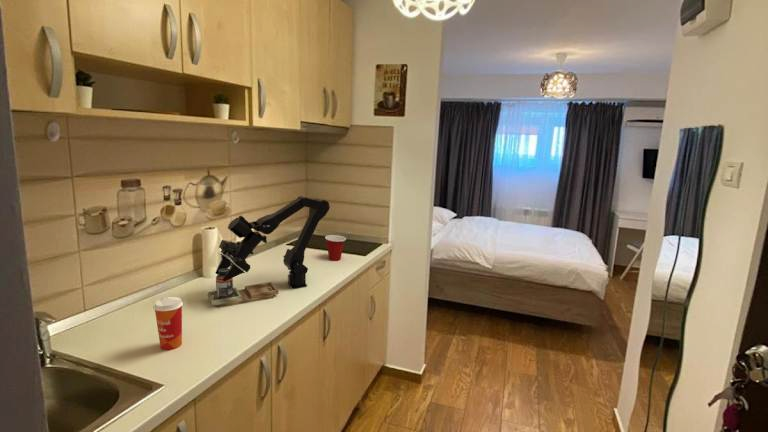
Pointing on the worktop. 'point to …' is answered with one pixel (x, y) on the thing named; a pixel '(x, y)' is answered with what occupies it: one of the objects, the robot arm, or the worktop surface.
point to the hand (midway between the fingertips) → (219, 277)
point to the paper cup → (169, 322)
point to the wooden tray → (245, 295)
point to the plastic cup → (335, 246)
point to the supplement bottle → (224, 285)
